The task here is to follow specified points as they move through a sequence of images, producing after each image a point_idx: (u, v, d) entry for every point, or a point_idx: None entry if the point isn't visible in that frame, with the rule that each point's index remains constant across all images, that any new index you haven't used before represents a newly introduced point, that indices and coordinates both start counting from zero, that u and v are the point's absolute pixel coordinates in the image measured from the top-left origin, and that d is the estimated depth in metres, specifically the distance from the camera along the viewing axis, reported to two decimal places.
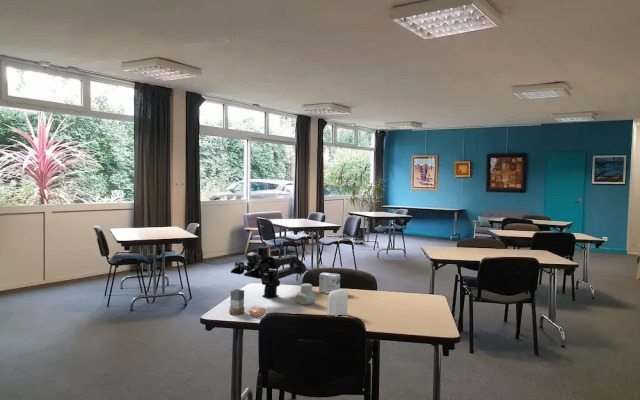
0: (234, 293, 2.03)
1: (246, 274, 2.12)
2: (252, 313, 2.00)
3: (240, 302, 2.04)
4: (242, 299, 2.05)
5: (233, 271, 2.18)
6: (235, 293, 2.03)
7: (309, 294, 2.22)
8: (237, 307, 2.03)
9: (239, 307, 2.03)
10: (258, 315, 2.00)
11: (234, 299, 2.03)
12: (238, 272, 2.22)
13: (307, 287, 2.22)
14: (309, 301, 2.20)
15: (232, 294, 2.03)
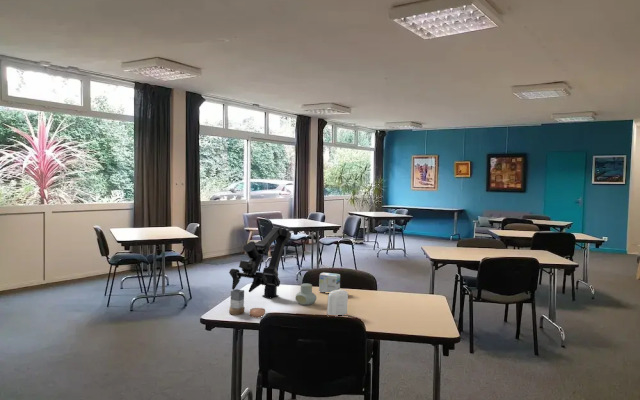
0: (234, 293, 2.03)
1: (251, 290, 2.06)
2: (252, 313, 2.00)
3: (240, 302, 2.04)
4: (242, 299, 2.05)
5: (234, 286, 2.10)
6: (235, 293, 2.03)
7: (309, 294, 2.22)
8: (237, 307, 2.03)
9: (239, 307, 2.03)
10: (258, 315, 2.00)
11: (234, 299, 2.03)
12: (238, 281, 2.14)
13: (307, 287, 2.22)
14: (309, 301, 2.20)
15: (232, 294, 2.03)
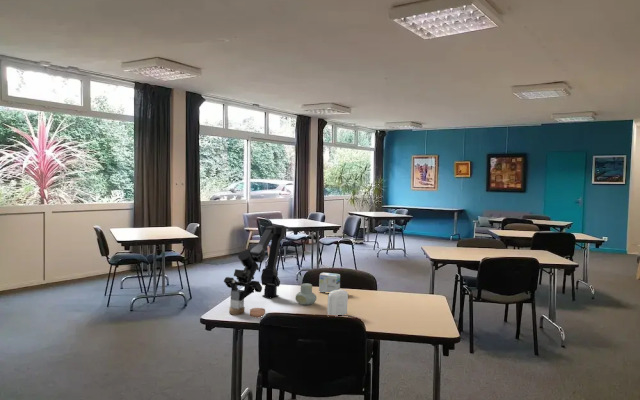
0: (234, 293, 2.03)
1: (242, 298, 2.03)
2: (252, 313, 2.00)
3: (240, 302, 2.04)
4: None
5: None
6: (235, 293, 2.03)
7: (309, 294, 2.22)
8: (237, 307, 2.03)
9: (239, 307, 2.03)
10: (258, 315, 2.00)
11: (234, 299, 2.03)
12: None
13: (307, 287, 2.22)
14: (309, 301, 2.20)
15: (232, 294, 2.03)
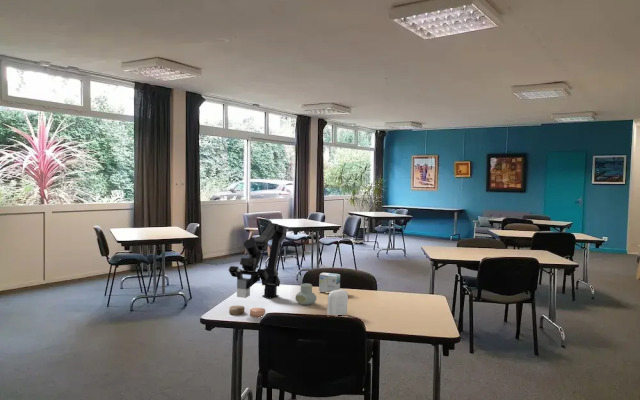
0: (241, 281, 2.02)
1: (248, 286, 2.02)
2: (252, 313, 2.00)
3: (247, 290, 2.02)
4: None
5: None
6: (242, 281, 2.01)
7: (309, 294, 2.22)
8: (244, 295, 2.01)
9: (246, 295, 2.02)
10: (258, 315, 2.00)
11: (241, 287, 2.02)
12: None
13: (307, 287, 2.22)
14: (309, 301, 2.20)
15: (239, 282, 2.02)
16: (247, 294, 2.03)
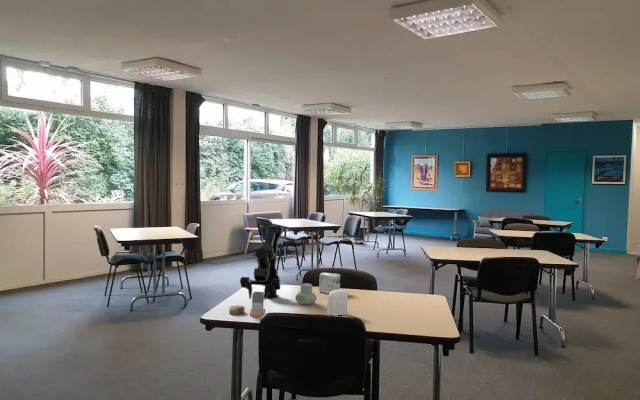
0: (256, 295, 2.00)
1: (266, 297, 2.02)
2: (252, 313, 2.00)
3: (262, 304, 2.02)
4: (263, 301, 2.04)
5: (250, 295, 2.03)
6: (257, 295, 2.00)
7: (309, 294, 2.22)
8: (260, 309, 2.01)
9: (261, 309, 2.01)
10: (258, 315, 2.00)
11: (256, 301, 2.01)
12: (251, 289, 2.06)
13: (307, 287, 2.22)
14: (309, 301, 2.20)
15: (254, 296, 2.00)
16: (262, 308, 2.02)
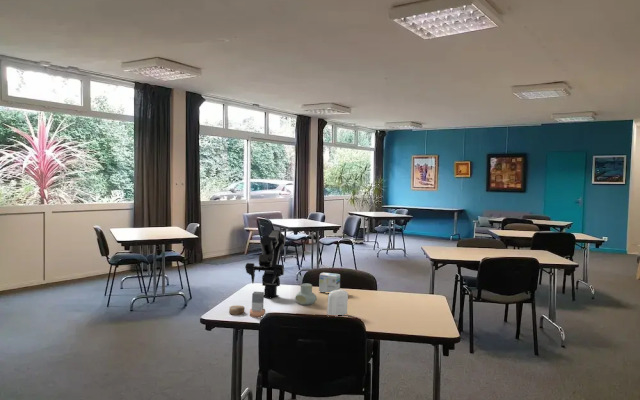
0: (256, 295, 2.00)
1: (272, 282, 2.11)
2: (252, 313, 2.00)
3: (262, 304, 2.02)
4: (263, 301, 2.04)
5: (253, 280, 2.12)
6: (257, 295, 2.00)
7: (309, 294, 2.22)
8: (260, 309, 2.01)
9: (261, 309, 2.01)
10: (258, 315, 2.00)
11: (256, 301, 2.01)
12: (254, 275, 2.16)
13: (307, 287, 2.22)
14: (309, 301, 2.20)
15: (254, 296, 2.00)
16: (262, 308, 2.02)
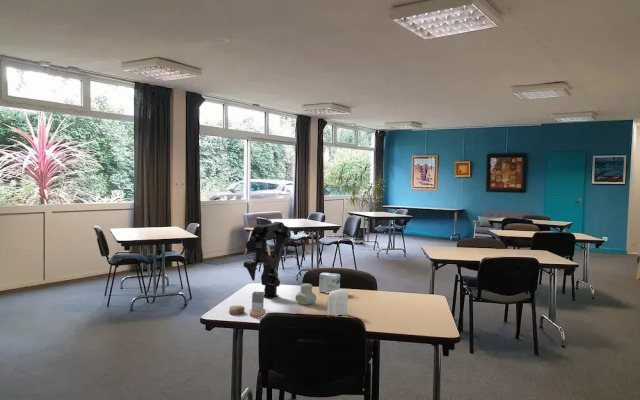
0: (256, 295, 2.00)
1: None
2: (252, 313, 2.00)
3: (262, 304, 2.02)
4: (263, 301, 2.04)
5: None
6: (257, 295, 2.00)
7: (309, 294, 2.22)
8: (260, 309, 2.01)
9: (261, 309, 2.01)
10: (258, 315, 2.00)
11: (256, 301, 2.01)
12: None
13: (307, 287, 2.22)
14: (309, 301, 2.20)
15: (254, 296, 2.00)
16: (262, 308, 2.02)
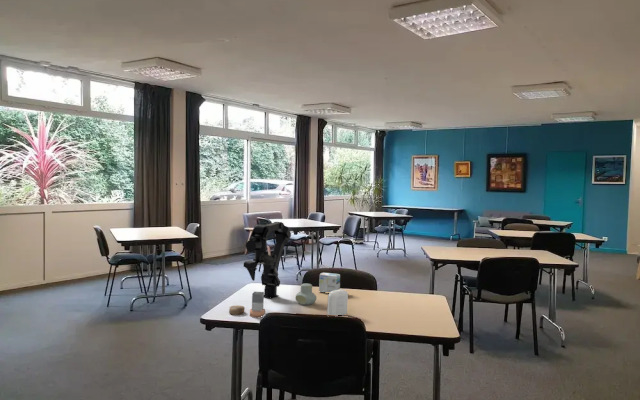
0: (256, 295, 2.00)
1: None
2: (252, 313, 2.00)
3: (262, 304, 2.02)
4: (263, 301, 2.04)
5: None
6: (257, 295, 2.00)
7: (309, 294, 2.22)
8: (260, 309, 2.01)
9: (261, 309, 2.01)
10: (258, 315, 2.00)
11: (256, 301, 2.01)
12: None
13: (307, 287, 2.22)
14: (309, 301, 2.20)
15: (254, 296, 2.00)
16: (262, 308, 2.02)
